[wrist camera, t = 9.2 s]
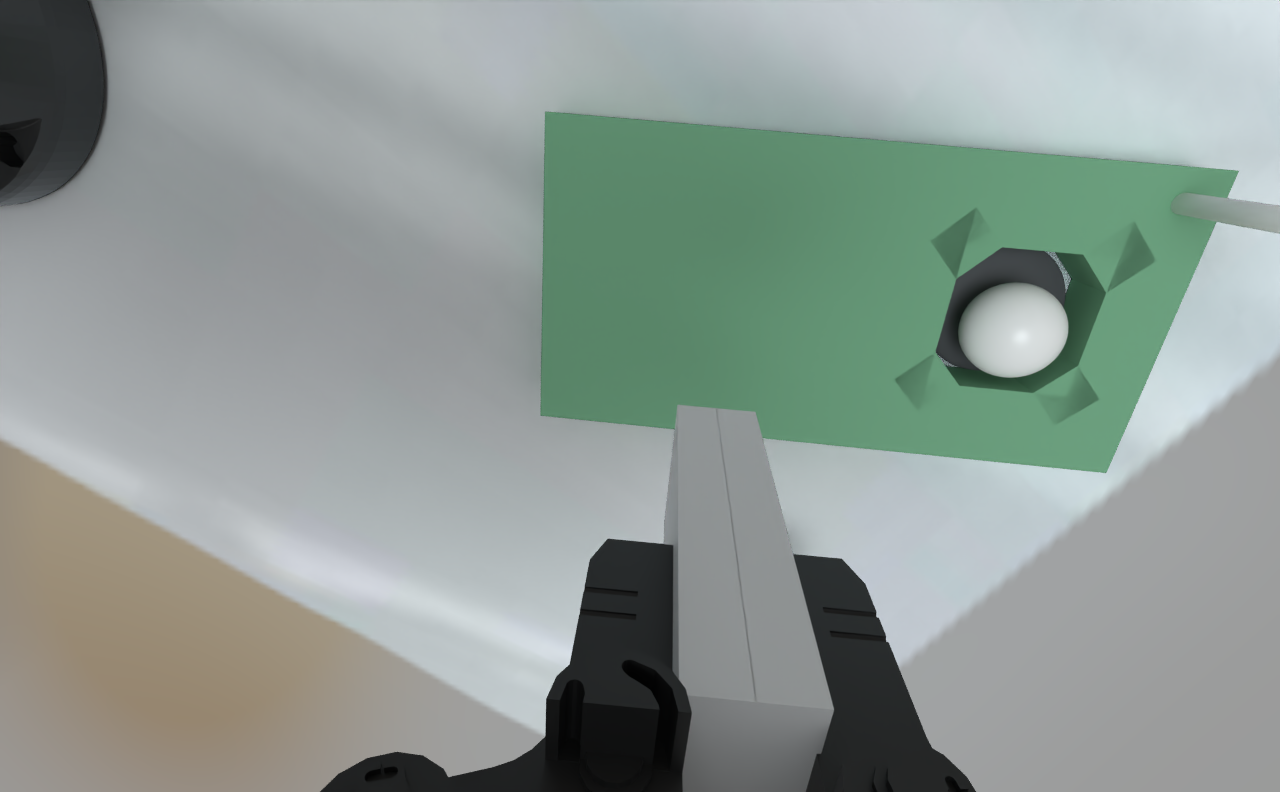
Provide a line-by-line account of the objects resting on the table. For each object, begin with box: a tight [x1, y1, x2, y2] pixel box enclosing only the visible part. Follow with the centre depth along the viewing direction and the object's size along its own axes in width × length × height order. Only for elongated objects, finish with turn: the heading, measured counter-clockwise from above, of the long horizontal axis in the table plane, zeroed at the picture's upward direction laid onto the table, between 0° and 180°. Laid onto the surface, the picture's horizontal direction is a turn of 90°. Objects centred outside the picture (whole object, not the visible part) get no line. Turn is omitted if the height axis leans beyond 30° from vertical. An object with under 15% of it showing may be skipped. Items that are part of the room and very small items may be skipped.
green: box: [541, 112, 1280, 473], centre depth 23 cm, size 28×13×12 cm, turn 85°
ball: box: [958, 282, 1068, 378], centre depth 27 cm, size 4×4×4 cm
